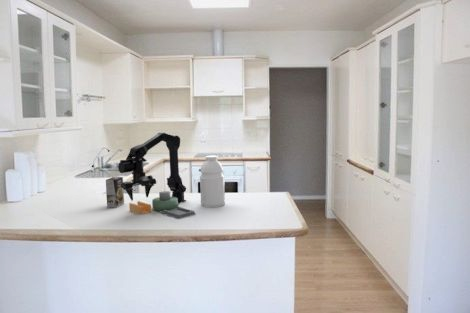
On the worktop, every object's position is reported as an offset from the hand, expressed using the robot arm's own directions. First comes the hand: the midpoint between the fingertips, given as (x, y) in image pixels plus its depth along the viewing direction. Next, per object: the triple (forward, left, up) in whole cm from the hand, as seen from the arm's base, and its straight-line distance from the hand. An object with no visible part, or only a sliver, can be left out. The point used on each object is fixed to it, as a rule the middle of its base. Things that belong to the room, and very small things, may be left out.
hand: (139, 198), depth 210 cm
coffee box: (+3, -22, -7) cm, 23 cm away
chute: (0, 0, -7) cm, 7 cm away
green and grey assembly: (-13, +13, -7) cm, 19 cm away
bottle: (-36, +19, -7) cm, 41 cm away
